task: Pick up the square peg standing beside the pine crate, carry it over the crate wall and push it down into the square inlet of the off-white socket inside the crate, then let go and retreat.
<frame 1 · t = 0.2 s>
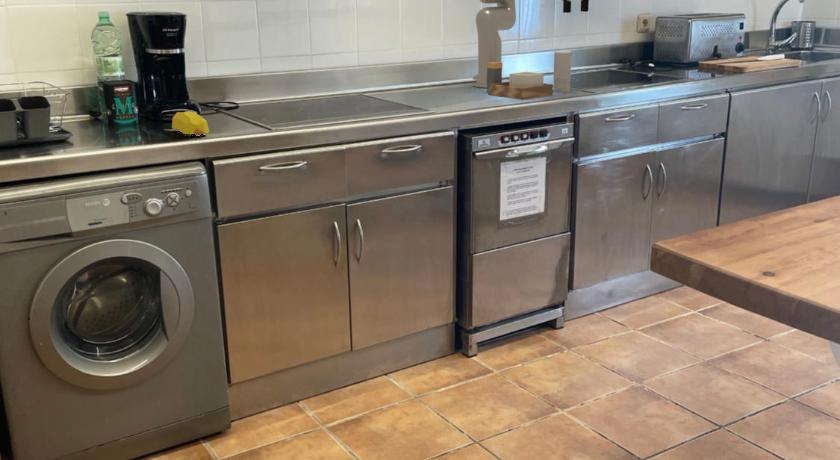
hand: (575, 12, 298), 31 cm above the counter, fingers open, 9 cm apart
square peg: (494, 93, 319), on the counter
yellow lump: (191, 135, 249), on the counter
skincare box: (561, 92, 321), on the counter
crate: (520, 96, 311), on the counter
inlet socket: (526, 95, 310), resting on crate
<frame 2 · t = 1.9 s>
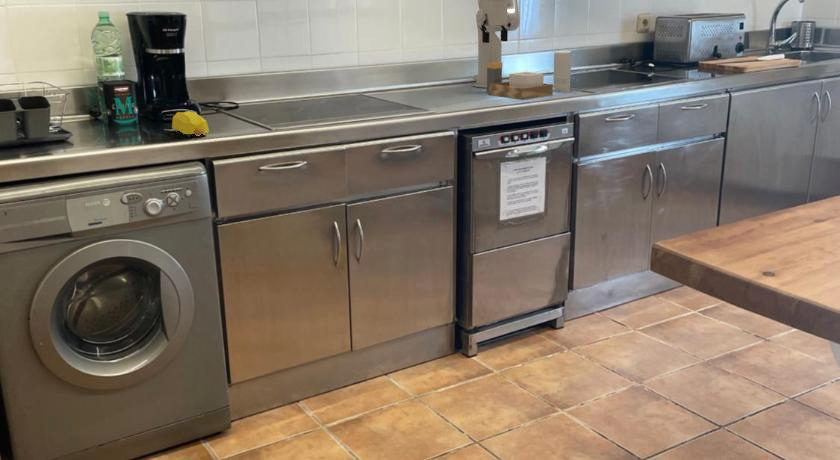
hand: (494, 41, 313), 20 cm above the counter, fingers open, 9 cm apart
nothing on the counter moved.
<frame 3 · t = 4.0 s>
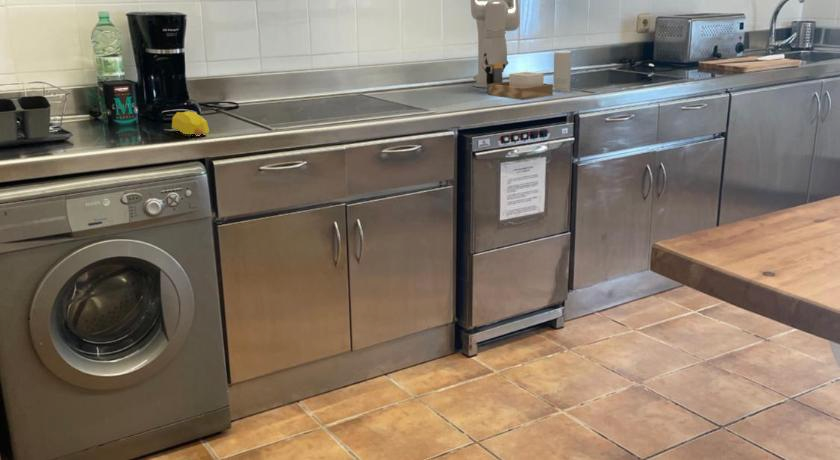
hand: (494, 82, 318), 4 cm above the counter, fingers closed on square peg, 4 cm apart
square peg: (494, 93, 319), on the counter, touching gripper
everything else where it was.
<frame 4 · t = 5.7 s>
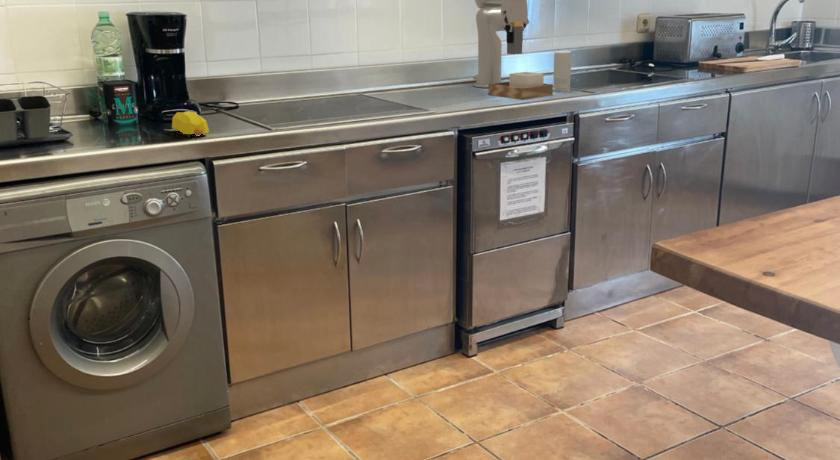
hand: (514, 42, 307), 20 cm above the counter, fingers closed on square peg, 4 cm apart
square peg: (514, 53, 308), point 16 cm above the counter, touching gripper
everything else where it was.
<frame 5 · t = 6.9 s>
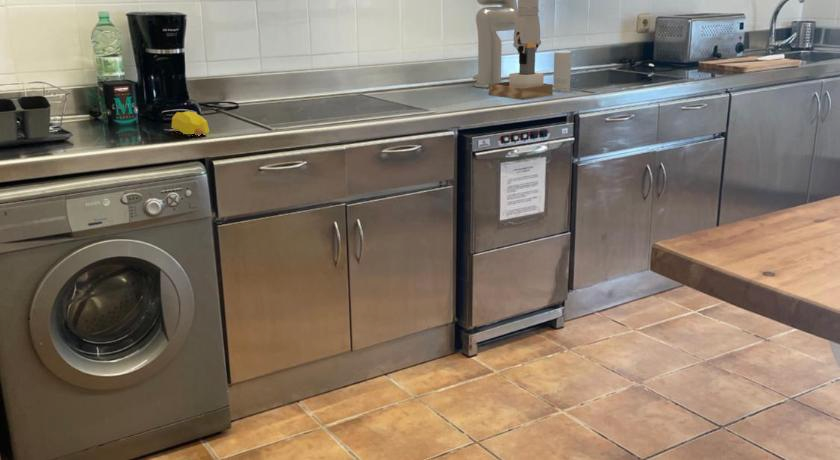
hand: (527, 62, 306), 13 cm above the counter, fingers closed on square peg, 4 cm apart
square peg: (526, 74, 308), point 8 cm above the counter, touching gripper
everything else where it was.
when the fingers open (11 cm above the counter, at t = 7.5 s): square peg drops 1 cm, resting on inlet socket.
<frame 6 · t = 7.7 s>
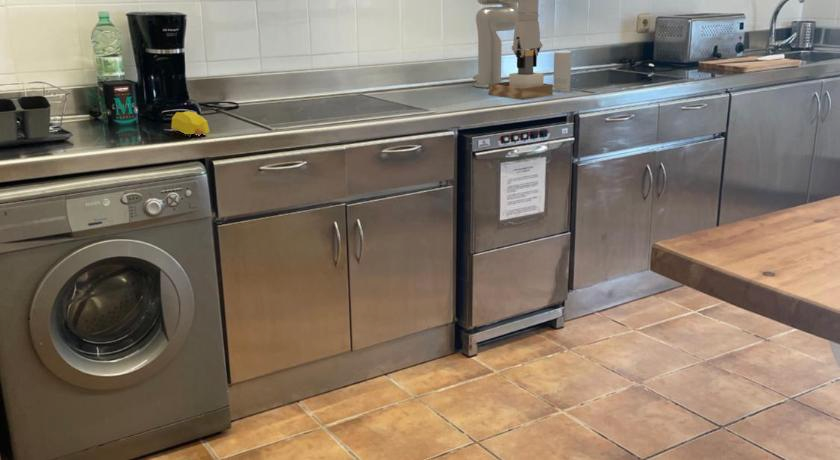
hand: (526, 66, 307), 11 cm above the counter, fingers open, 6 cm apart
square peg: (525, 82, 309), point 5 cm above the counter, touching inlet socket
everything else where it was.
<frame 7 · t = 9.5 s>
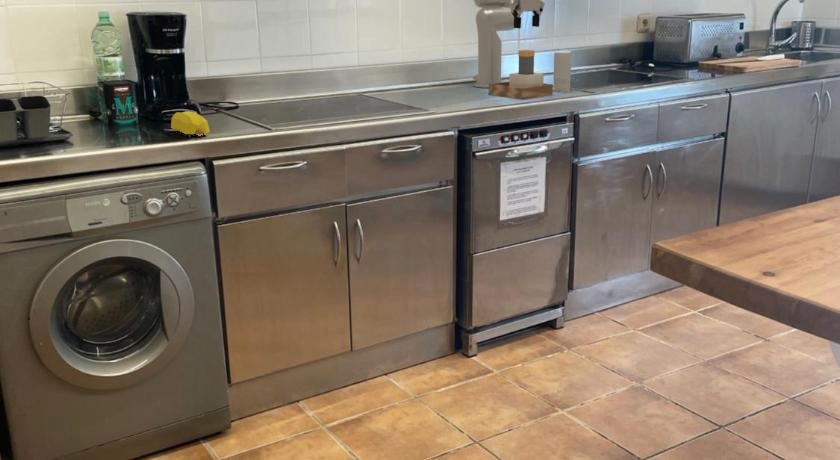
hand: (526, 27, 306), 25 cm above the counter, fingers open, 9 cm apart
nothing on the counter moved.
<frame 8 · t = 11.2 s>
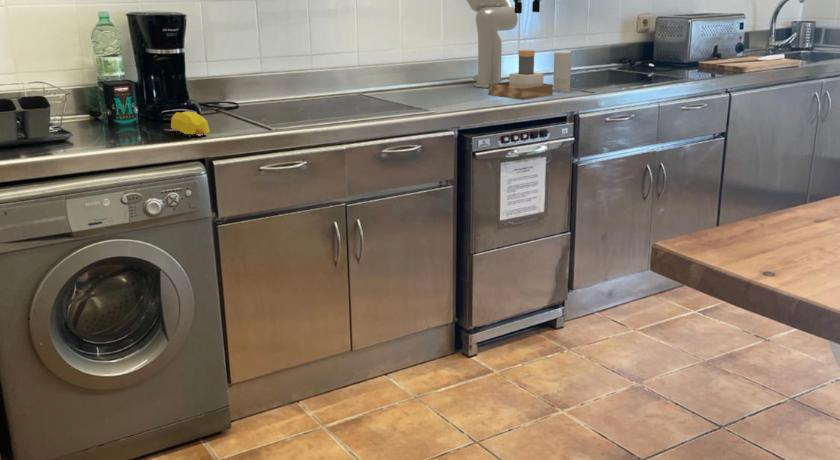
hand: (527, 12, 311), 30 cm above the counter, fingers open, 9 cm apart
nothing on the counter moved.
at the end: square peg 0.3 cm off-centre on the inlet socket, point 4.5 cm above the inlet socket's base; square peg tilted 0°; the gripper is holding nothing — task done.
